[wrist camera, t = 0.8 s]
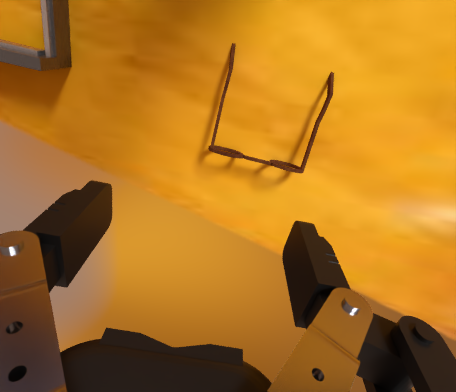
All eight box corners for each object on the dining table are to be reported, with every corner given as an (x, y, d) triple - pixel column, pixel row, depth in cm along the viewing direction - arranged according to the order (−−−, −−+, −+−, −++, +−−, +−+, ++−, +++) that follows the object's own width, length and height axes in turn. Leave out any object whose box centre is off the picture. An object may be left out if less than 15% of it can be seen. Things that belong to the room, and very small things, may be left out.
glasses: (209, 145, 39) (206, 158, 34) (231, 43, 33) (231, 42, 28) (297, 166, 40) (304, 181, 36) (335, 71, 34) (349, 75, 29)
